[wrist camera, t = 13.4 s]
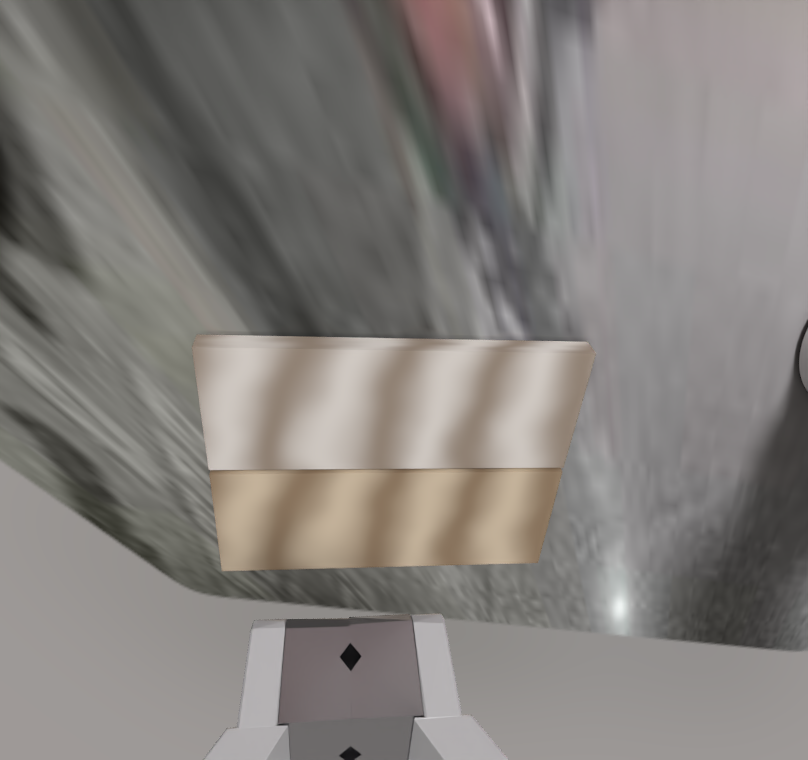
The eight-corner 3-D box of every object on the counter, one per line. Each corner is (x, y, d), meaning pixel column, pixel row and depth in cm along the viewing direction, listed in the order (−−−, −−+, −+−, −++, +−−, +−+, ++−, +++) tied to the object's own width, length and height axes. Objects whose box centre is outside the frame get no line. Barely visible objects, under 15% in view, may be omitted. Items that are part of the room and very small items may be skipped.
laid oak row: (555, 458, 47) (562, 471, 45) (532, 548, 52) (537, 562, 50) (213, 460, 44) (209, 474, 42) (225, 555, 49) (222, 571, 47)
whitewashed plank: (587, 341, 41) (596, 353, 40) (556, 453, 46) (563, 467, 45) (197, 334, 38) (191, 347, 37) (212, 455, 43) (208, 470, 42)
